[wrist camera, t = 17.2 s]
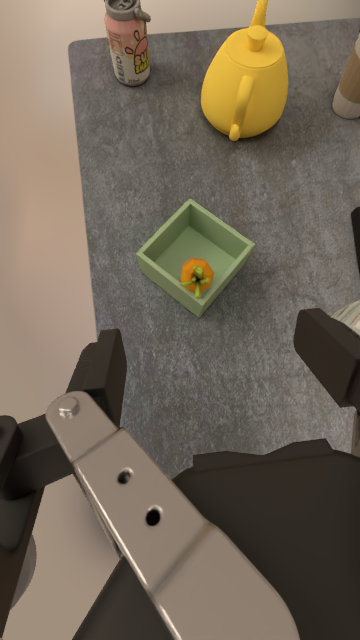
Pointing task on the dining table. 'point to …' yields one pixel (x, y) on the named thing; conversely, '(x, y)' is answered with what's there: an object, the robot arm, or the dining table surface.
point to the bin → (193, 254)
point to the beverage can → (128, 40)
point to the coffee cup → (349, 88)
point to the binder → (357, 231)
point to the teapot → (246, 81)
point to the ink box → (350, 316)
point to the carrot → (196, 276)
